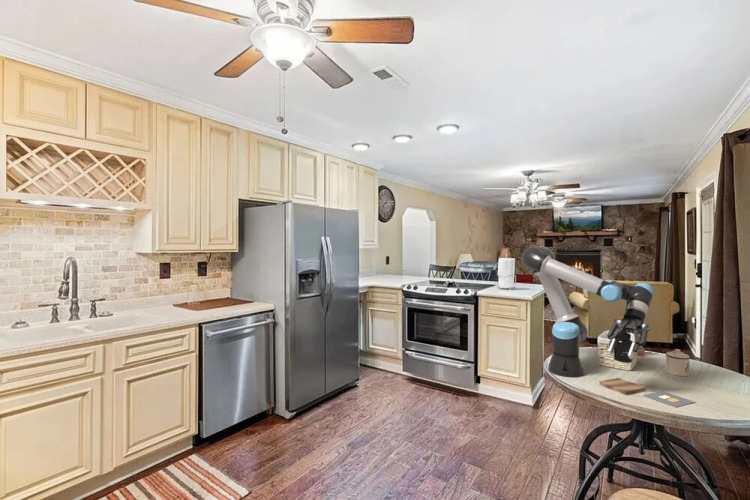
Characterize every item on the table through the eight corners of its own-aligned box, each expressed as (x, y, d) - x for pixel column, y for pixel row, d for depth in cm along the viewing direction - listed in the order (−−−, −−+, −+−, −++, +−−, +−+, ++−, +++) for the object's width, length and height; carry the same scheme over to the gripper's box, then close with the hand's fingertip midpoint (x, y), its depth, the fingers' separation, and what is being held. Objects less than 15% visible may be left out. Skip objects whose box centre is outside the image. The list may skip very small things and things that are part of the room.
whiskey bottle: (630, 350, 216) (630, 296, 215) (645, 355, 206) (646, 298, 205) (615, 351, 214) (615, 296, 213) (629, 357, 204) (629, 299, 204)
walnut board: (599, 384, 165) (599, 381, 165) (618, 381, 169) (618, 377, 169) (626, 395, 154) (626, 391, 154) (645, 390, 158) (645, 387, 158)
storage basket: (605, 355, 208) (605, 329, 208) (640, 361, 197) (640, 333, 197) (596, 366, 190) (596, 337, 190) (634, 373, 179) (634, 342, 179)
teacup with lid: (690, 378, 172) (691, 353, 172) (665, 374, 178) (666, 350, 177) (688, 370, 182) (688, 347, 182) (664, 367, 187) (665, 344, 187)
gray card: (643, 395, 153) (643, 395, 153) (662, 391, 157) (662, 390, 157) (675, 407, 142) (675, 407, 142) (695, 402, 146) (695, 402, 146)
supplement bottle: (625, 364, 156) (626, 335, 156) (610, 359, 163) (610, 332, 162) (636, 362, 159) (637, 334, 159) (620, 357, 165) (620, 330, 165)
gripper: (664, 321, 161) (649, 366, 152) (614, 314, 177) (597, 354, 168) (660, 311, 158) (644, 355, 149) (609, 304, 174) (592, 344, 165)
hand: (619, 354), depth 159 cm, fingers closed on supplement bottle, 7 cm apart
